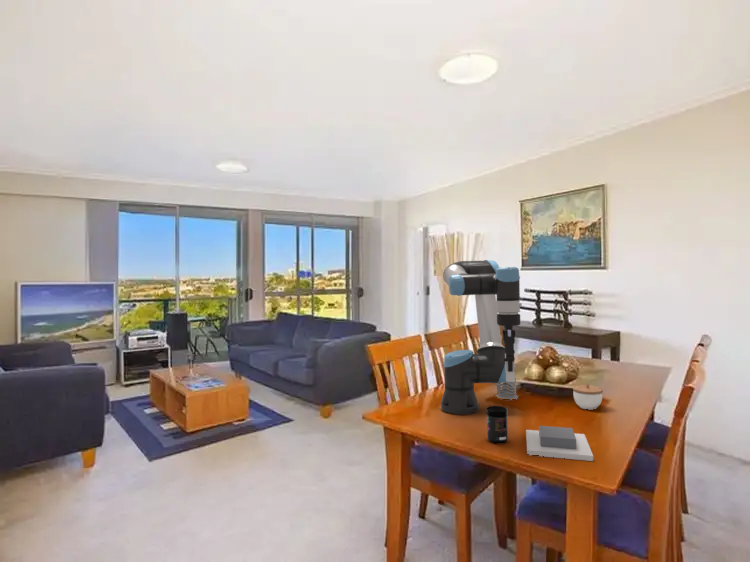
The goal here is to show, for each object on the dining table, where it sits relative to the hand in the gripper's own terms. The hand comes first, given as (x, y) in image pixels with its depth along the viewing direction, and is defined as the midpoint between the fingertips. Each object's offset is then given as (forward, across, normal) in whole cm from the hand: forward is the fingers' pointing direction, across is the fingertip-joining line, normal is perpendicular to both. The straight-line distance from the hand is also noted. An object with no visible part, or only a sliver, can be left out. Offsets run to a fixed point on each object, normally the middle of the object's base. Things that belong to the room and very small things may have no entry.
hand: (509, 376), depth 150 cm
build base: (+20, -6, -14) cm, 25 cm away
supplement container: (+20, -5, +4) cm, 21 cm away
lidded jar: (+20, +38, -30) cm, 52 cm away
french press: (+20, +48, +1) cm, 52 cm away
